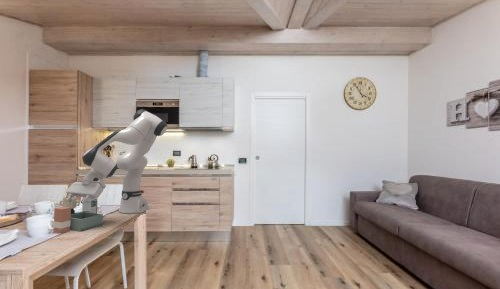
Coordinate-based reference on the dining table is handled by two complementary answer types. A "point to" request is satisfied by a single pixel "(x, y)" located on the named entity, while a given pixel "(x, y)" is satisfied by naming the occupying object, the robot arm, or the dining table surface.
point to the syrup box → (90, 205)
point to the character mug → (70, 203)
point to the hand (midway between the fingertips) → (75, 202)
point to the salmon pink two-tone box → (62, 219)
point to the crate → (85, 221)
